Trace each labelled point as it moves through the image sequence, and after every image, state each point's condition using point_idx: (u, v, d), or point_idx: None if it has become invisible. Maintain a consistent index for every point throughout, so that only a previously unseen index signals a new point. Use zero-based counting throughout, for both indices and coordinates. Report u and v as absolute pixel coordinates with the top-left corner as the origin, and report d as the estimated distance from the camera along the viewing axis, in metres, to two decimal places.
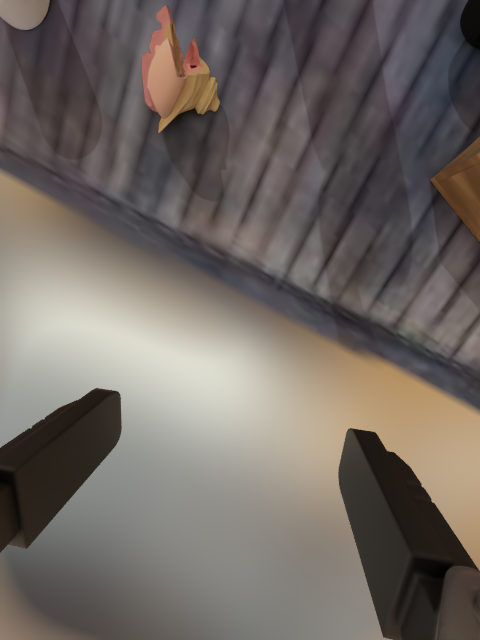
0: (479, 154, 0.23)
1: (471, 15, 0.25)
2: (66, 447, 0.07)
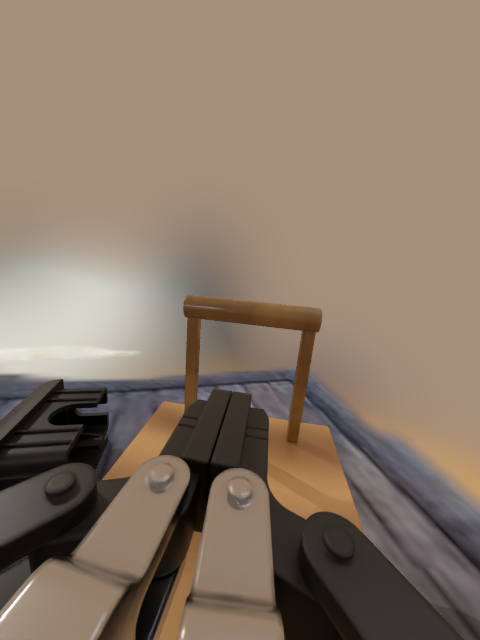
0: None
1: None
2: None
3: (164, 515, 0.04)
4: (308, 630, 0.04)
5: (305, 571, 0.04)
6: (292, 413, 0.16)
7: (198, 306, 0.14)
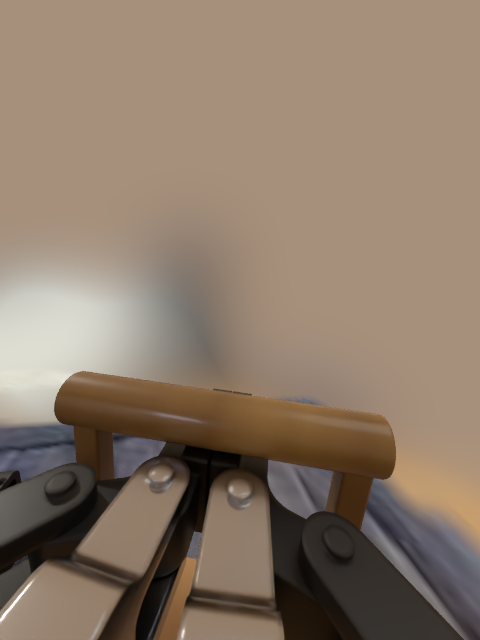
0: None
1: None
2: None
3: (164, 515, 0.04)
4: (308, 630, 0.04)
5: (305, 572, 0.04)
6: None
7: (88, 409, 0.06)
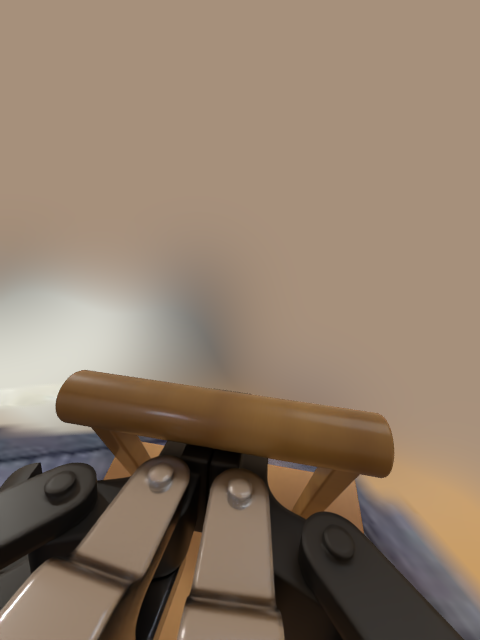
0: None
1: None
2: None
3: (164, 515, 0.04)
4: (308, 630, 0.04)
5: (305, 571, 0.04)
6: (303, 514, 0.10)
7: (89, 419, 0.06)
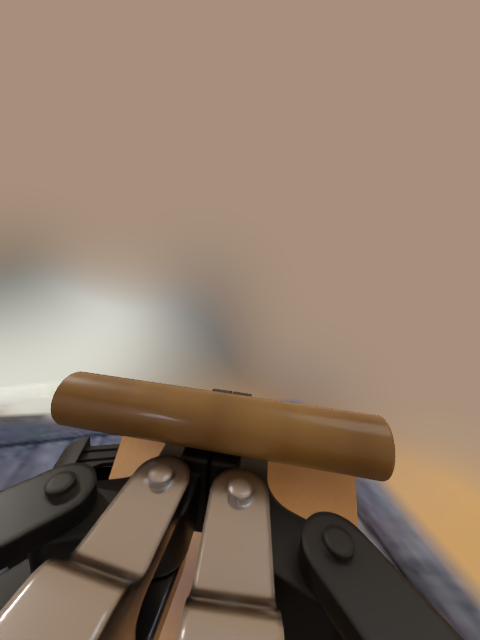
0: None
1: None
2: None
3: (164, 515, 0.04)
4: (308, 630, 0.04)
5: (305, 572, 0.04)
6: None
7: (89, 428, 0.06)
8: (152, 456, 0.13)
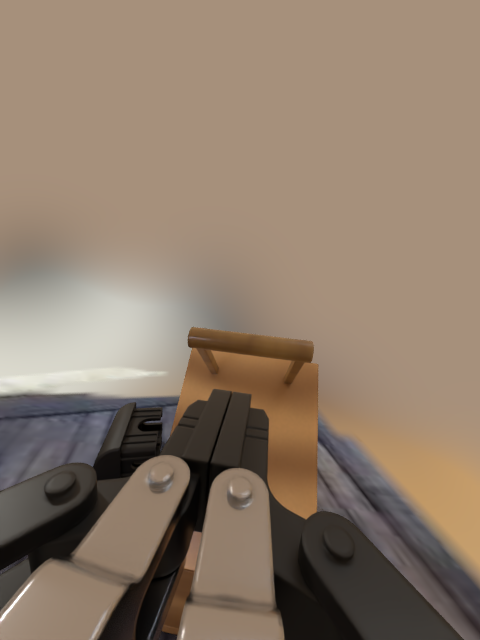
0: None
1: (102, 476, 0.30)
2: None
3: (164, 515, 0.04)
4: (308, 630, 0.04)
5: (305, 572, 0.04)
6: (287, 378, 0.21)
7: (201, 346, 0.16)
8: (203, 388, 0.23)
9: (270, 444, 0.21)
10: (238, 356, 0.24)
